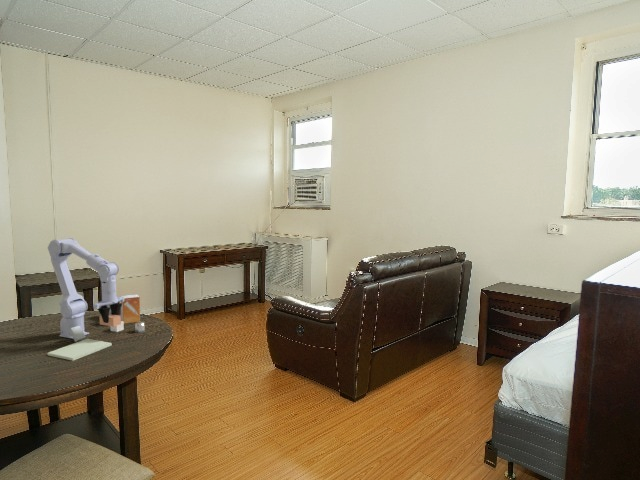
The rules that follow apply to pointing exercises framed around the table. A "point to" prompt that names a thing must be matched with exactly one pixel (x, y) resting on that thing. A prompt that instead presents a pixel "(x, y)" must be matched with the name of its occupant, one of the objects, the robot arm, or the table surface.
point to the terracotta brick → (111, 320)
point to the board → (79, 349)
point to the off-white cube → (118, 327)
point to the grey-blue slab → (77, 333)
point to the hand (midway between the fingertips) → (110, 321)
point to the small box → (130, 309)
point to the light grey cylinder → (140, 327)
